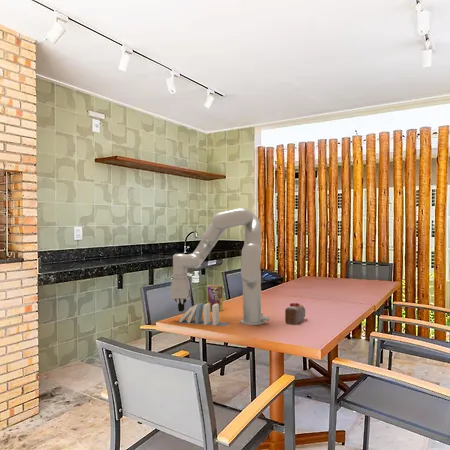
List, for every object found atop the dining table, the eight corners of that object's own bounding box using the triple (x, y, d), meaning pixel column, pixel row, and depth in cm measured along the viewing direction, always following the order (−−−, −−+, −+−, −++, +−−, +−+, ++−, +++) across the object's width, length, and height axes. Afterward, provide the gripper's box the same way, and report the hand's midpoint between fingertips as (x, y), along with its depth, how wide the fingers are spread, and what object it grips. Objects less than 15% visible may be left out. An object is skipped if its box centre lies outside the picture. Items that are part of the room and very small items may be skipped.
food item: (292, 318, 214) (291, 300, 214) (306, 319, 210) (306, 301, 210) (283, 323, 202) (283, 304, 201) (298, 325, 198) (298, 306, 198)
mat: (230, 323, 204) (230, 322, 204) (225, 327, 197) (225, 326, 197) (182, 320, 214) (182, 319, 214) (176, 323, 207) (176, 322, 207)
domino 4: (219, 322, 205) (218, 303, 205) (215, 325, 200) (215, 305, 200) (216, 322, 205) (215, 303, 205) (212, 325, 201) (212, 305, 200)
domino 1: (185, 320, 212) (196, 307, 209) (180, 322, 207) (192, 309, 205) (183, 318, 212) (194, 305, 210) (178, 320, 207) (190, 307, 205)
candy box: (222, 309, 239) (221, 284, 239) (223, 310, 234) (222, 285, 234) (207, 310, 238) (207, 285, 238) (208, 311, 234) (207, 286, 234)
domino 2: (193, 321, 210) (200, 304, 208) (189, 323, 205) (196, 306, 204) (190, 319, 210) (198, 303, 209) (186, 321, 206) (194, 305, 204)
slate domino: (201, 321, 208) (203, 303, 208) (197, 323, 204) (200, 305, 203) (198, 320, 209) (201, 302, 208) (194, 323, 204) (197, 304, 204)
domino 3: (210, 322, 206) (209, 303, 206) (206, 324, 202) (206, 305, 202) (207, 322, 207) (207, 303, 207) (203, 324, 202) (203, 305, 202)
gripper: (164, 277, 209) (165, 311, 209) (189, 278, 203) (190, 313, 203) (171, 275, 216) (172, 308, 216) (196, 276, 210) (197, 310, 210)
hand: (181, 311), depth 210 cm, fingers closed
